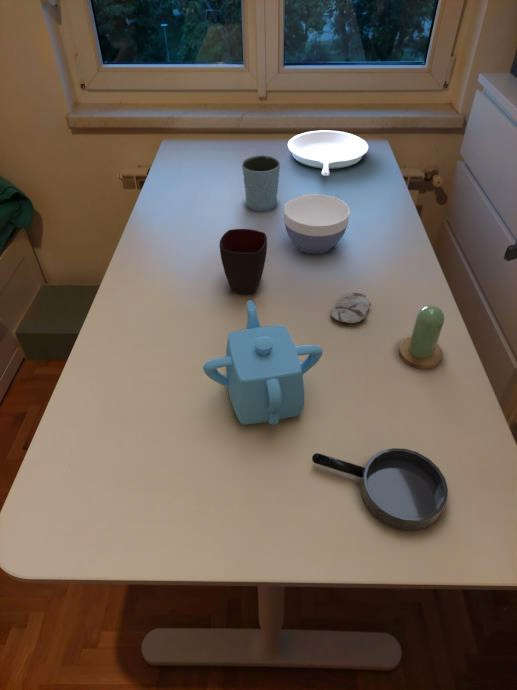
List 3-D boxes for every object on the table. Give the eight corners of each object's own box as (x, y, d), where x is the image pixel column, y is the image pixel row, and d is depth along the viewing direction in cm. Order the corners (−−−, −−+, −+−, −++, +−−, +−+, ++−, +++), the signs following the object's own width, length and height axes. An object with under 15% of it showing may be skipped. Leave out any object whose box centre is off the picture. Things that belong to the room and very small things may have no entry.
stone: (360, 331, 102) (362, 321, 101) (326, 322, 105) (327, 312, 103) (372, 304, 109) (374, 295, 107) (340, 296, 111) (341, 286, 109)
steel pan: (446, 472, 78) (451, 461, 76) (437, 542, 70) (443, 532, 68) (370, 450, 81) (372, 439, 79) (353, 514, 73) (355, 504, 71)
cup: (218, 297, 111) (214, 251, 103) (232, 263, 121) (229, 218, 113) (262, 302, 110) (262, 255, 101) (272, 267, 120) (273, 221, 111)
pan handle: (367, 472, 77) (369, 466, 76) (365, 481, 76) (366, 475, 74) (313, 455, 79) (314, 449, 78) (310, 464, 78) (311, 458, 77)
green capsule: (439, 352, 96) (453, 310, 89) (421, 362, 94) (434, 320, 87) (420, 338, 99) (432, 296, 92) (402, 348, 97) (413, 306, 90)
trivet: (443, 346, 99) (444, 342, 98) (438, 373, 94) (440, 369, 93) (402, 336, 101) (403, 332, 101) (395, 362, 96) (396, 359, 95)
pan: (365, 142, 175) (367, 128, 172) (369, 192, 147) (371, 177, 144) (290, 138, 178) (291, 125, 174) (279, 187, 150) (280, 172, 147)
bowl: (358, 251, 124) (363, 216, 118) (301, 267, 119) (304, 232, 113) (325, 222, 135) (328, 188, 128) (271, 236, 130) (272, 202, 123)
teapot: (328, 392, 90) (335, 337, 81) (272, 451, 81) (273, 396, 72) (251, 349, 99) (249, 294, 90) (192, 397, 90) (184, 342, 81)
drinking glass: (280, 197, 146) (281, 156, 137) (276, 214, 138) (277, 172, 130) (246, 195, 147) (245, 154, 138) (240, 211, 139) (239, 170, 131)
